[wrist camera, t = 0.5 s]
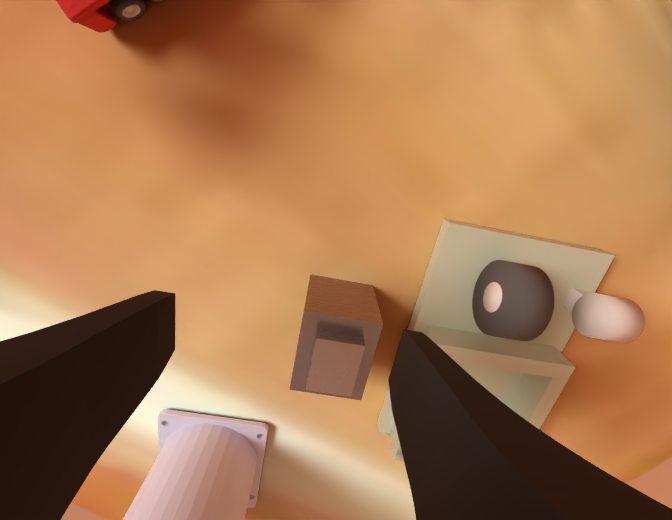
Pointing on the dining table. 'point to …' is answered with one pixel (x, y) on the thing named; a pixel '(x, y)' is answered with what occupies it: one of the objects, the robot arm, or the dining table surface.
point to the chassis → (506, 354)
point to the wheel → (512, 300)
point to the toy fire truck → (102, 12)
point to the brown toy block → (336, 338)
